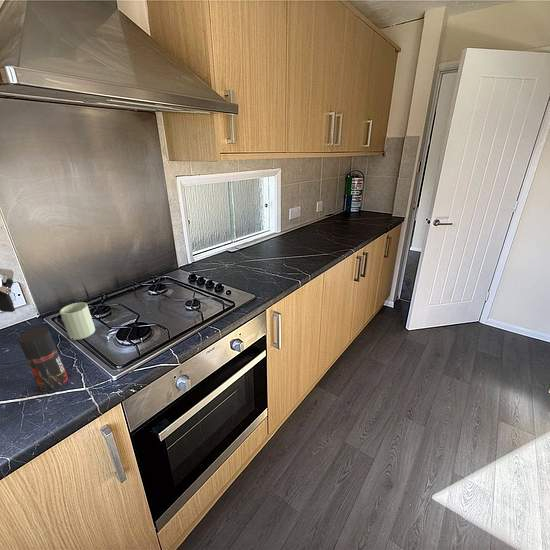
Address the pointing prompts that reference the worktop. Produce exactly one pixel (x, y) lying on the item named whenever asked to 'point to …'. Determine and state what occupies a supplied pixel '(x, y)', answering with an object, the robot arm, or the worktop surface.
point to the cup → (77, 320)
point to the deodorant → (43, 358)
